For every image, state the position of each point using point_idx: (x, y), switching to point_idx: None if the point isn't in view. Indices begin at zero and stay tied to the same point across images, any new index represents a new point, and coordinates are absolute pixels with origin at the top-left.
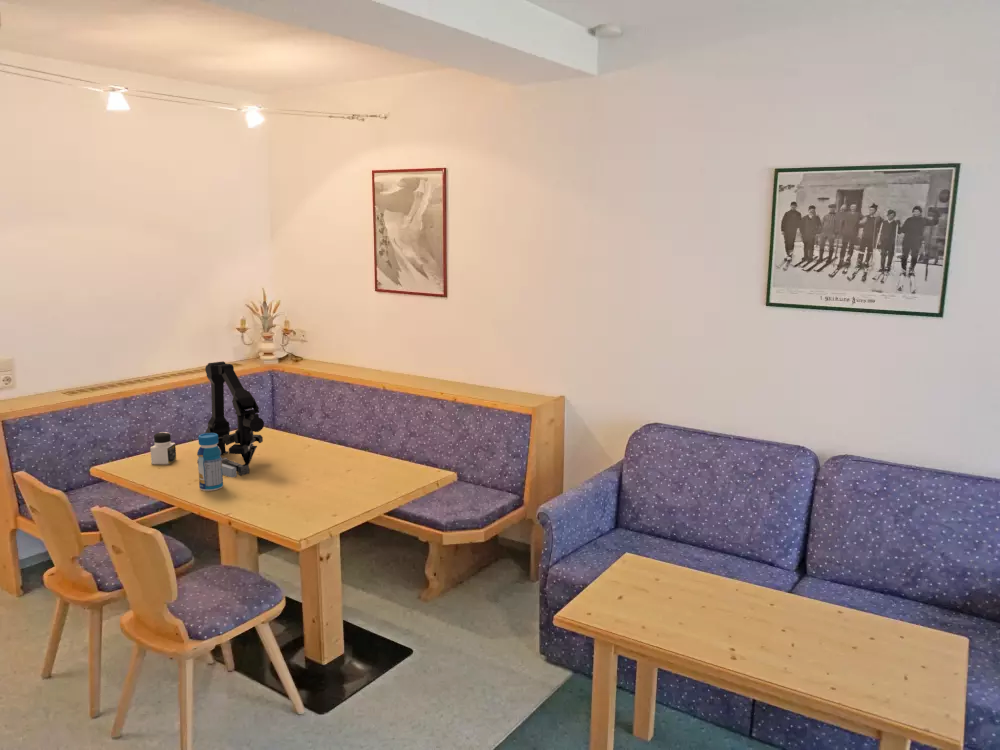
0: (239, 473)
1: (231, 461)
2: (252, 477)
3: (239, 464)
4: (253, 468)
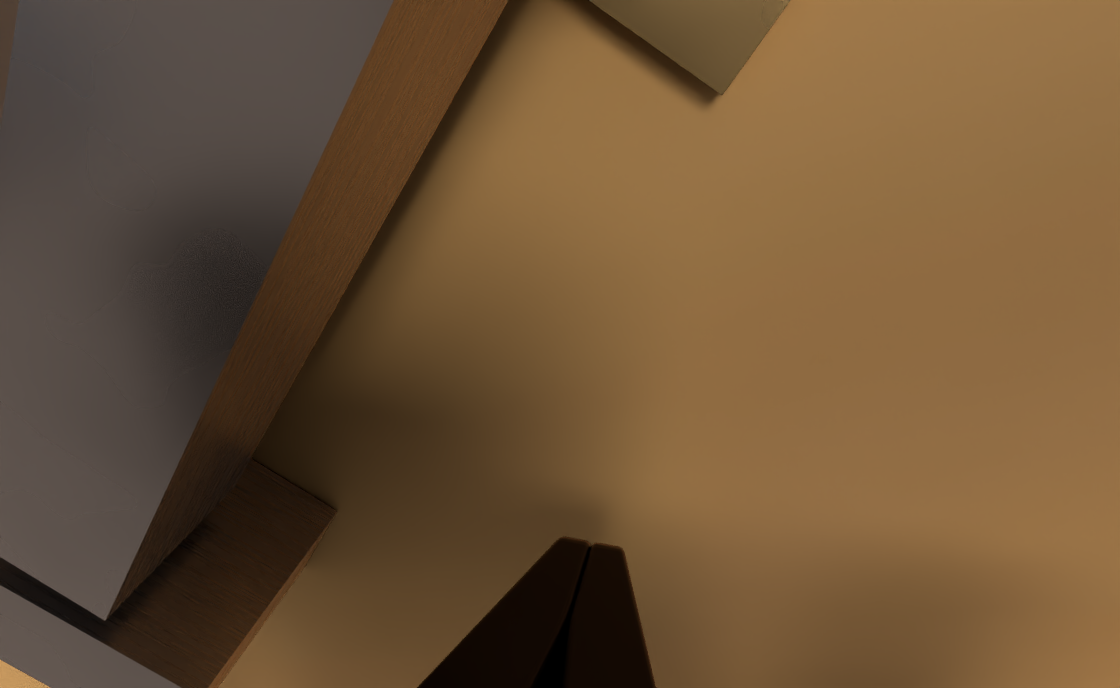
0: None
1: (205, 224)
2: None
3: (70, 577)
4: None
